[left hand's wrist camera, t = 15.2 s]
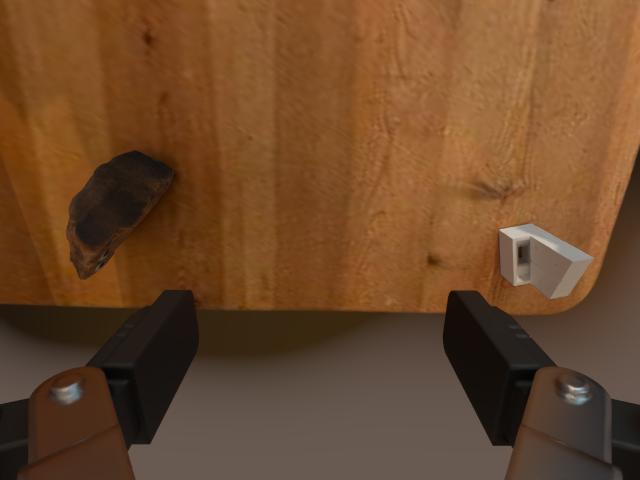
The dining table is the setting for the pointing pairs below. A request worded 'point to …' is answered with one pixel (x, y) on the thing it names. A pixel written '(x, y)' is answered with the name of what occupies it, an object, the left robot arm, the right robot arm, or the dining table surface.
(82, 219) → the decorative rock
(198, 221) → the dining table surface
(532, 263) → the white angled block
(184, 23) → the dining table surface
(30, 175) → the dining table surface
